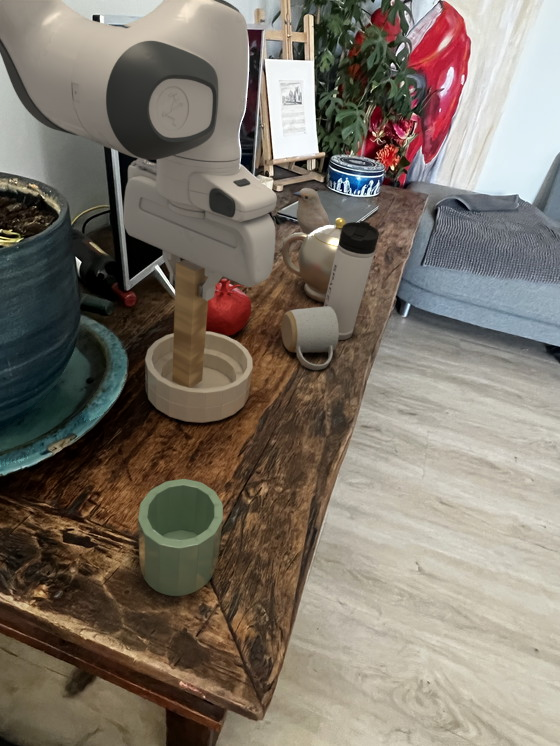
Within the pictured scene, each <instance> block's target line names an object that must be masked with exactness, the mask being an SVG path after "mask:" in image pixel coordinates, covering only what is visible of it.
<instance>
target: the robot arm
mask: <svg viewBox="0 0 560 746" xmlns="http://www.w3.org/2000/svg"><path fill="white" fill-rule="evenodd" d="M123 26H124V27H123ZM123 26H116V25H111V24H107V23H103V22H99V21H95V20H92V19H89V18H88V17H85V16H84V15H82V14H80V13H78V11H76V10H74V9H72V7H70V6H69V5H67V4H66V3H65V2H64V1H63V0H0V57H1V59H2V62H3V64H4V67H5V69H6V72H7V75H8V78H9V80H10V83H11V85H12V88H13V90H14V92H15V94H16V96H17V98H18V99H19V101H20V103H21V104H22V105H23V107H24V108H25V110H26V111H27V112H28V113H29V115H31V116H32V117H33V118H34V119H36V121H38V122H39V123H41V124H42V125H44V126H46V127H47V128H50V129H52V130H54V131H58V132H62V133H65V134H68V135H69V134H70V135H73V136H77V137H80V138H83V139H85V140H88V141H91V142H93V143H94V144H98V145H100V146H102V147H105V148H108V149H112V150H114V151H117V152H118V153H121V154H124V155H127V156H129V157H132V158H136V160H133V161H132V162H131V163H130V164H129V165H128V167H127V183H126V185H125V190H124V200H123V218H122V219H123V220H122V221H123V227H124V229H125V231H126V233H127V234H128V236H130V237H132V238H135V239H137V240H140V241H142V242H143V243H146V244H148V245H151V246H152V247H156V248H158V249H160V250H162V259H163V262H164V263H165V266H166V268H167V271H168V272H169V284H170V285H172V286H173V287H175V276H176V263H178V262H180V261H181V259H182V260H187V261H189V262H191V263H194V264H196V265H198V266H201V267H203V268H205V276H207V277H208V279H207V280H206V281H205V282H203V283H200V284H198V285H197V296H198V297H199V298H202V299H204V300H206V301H208V300H210V299H212V298H213V297H214V294H215V285H216V284H217V283H220V282H221V279H223V278H225V279H227V280H229V281H233V282H235V283H237V284H238V285H241V286H243V287H245V288H253V287H255V286H257V285H259V284H261V283H263V282H265V281H266V280H267V279H268V278H269V277H270V276H271V274H272V272H273V267H274V260H275V249H276V227H275V223H274V221H273V219H272V217H271V215H270V214H269V213H271V212H273V211H274V210H275V209H276V207H277V201H278V198H277V194H276V192H275V191H274V190H272V189H271V187H269V186H268V185H266V184H265V183H263V182H262V181H261V180H260V179H259V178H257V177H256V176H255V175H254V174H253V173H251V171H249V169H247V168H246V167H245V166H244V165H243V164H241V159H242V147H241V141H240V130H241V125H242V121H243V119H244V117H245V113H246V110H247V109H246V108H247V101H248V100H247V98H248V88H249V72H250V46H249V43H250V41H249V33H248V26H247V21H246V17H245V16H244V15H243V14H242V12H241V11H240V10H239V9H238V8H237V7H236V6H235V5H233V4H231V3H230V2H228V1H226V0H162V1H161V3H160V4H158V5H157V6H156V8H154V9H153V10H151V11H150V12H149V13H147V14H145V15H144V16H143V17H140V18H138V19H137V20H133V21H131V22H128V23H127V22H126V23H124V24H123ZM155 160H156V162H152V161H155Z"/></svg>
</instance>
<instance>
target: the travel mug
mask: <svg viewBox="0 0 560 746" xmlns="http://www.w3.org/2000/svg"><path fill="white" fill-rule="evenodd" d="M379 237H380V232H379V231H378V229H377V228H376V227H374V226H372V225H371V223H370V222H368V221H364V220H359V222H358V221H351V222H346V224H345V225H343V227H342V230H341V234H340V239H339V242H338V247H337V250H336V255H335V259H334V264H333V268H332V272H331V277H330V281H329V285H328V290H327V294H326V299H325V303H323V307H325V306H329V307H331V308H332V309H333V310H334V312H335V314H336V316H337V320H338V326H339V337H338V341H345V340H348V339H350V338H351V337H352V335H353V332H354V328H355V325H356V322H357V318H358V314H359V310H360V307H361V303H362V299H363V296H364V293H365V289H366V285H367V281H368V278H369V274H370V271H371V267H372V264H373V260H374V256H375V253H376V246H377V244H378V240H379Z"/></svg>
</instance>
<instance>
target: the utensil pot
mask: <svg viewBox="0 0 560 746" xmlns="http://www.w3.org/2000/svg"><path fill="white" fill-rule="evenodd" d="M223 521H224V505H223V502H222V501H221V499H220V497H219V495H218V494H217V492H216V491H215V490H214V489H212V488H211V487H209V486H207V485H206V484H204V483H203V482H201V481H198V480H192V479H186V478H181V479H180V478H179V479H172V480H167V481H164V482H162V483H161V484H159V485H157V486H155V487H153V488H151V489H150V490H149V491H148V493H147V494H146V495H145V496H144V498H143V499H142V500H141V502H140V504H139V509H138V517H137V526H138V527H137V529H138V556H139V557H138V558H139V566H140V571H141V572H140V573H141V575H142V577H143V579H144V581H145V582H146V584H147V585H148V586H149V587H150V588H152V590H154V591H156V592H158V593H159V594H162V595H165V596H170V597H181V596H182V597H183V596H187V595H191V594H193V593H196V592H198V591H199V590H200V589H202V588H203V587H204V586H206V585H207V584H208V583H209V581H210V580H211V579H212V577H213V576H214V574H215V572H216V568H217V565H218V561H219V553H220V546H221V537H222V531H223V530H222V529H223V523H224V522H223Z"/></svg>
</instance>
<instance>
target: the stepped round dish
mask: <svg viewBox="0 0 560 746" xmlns="http://www.w3.org/2000/svg"><path fill="white" fill-rule="evenodd" d="M173 342H174V332H173V333H170V334H166V335H164V336H162V337H161V338H159V339H157V340H155V341H154V342H153V343H152V344H151V345H150V346H149V347H148V349H147V351H146V355H145V358H144V369H145V370H144V372H145V373H144V374H145V379H144V381H145V393H146V395H147V399H148V401H149V402H150V403H151V405H152V406H154V407H155V409H157V410H158V411H160V412H161V413H163V414H164V415H166V416H168V417H170V418H173V419H177V420H179V421H183V422H187V423H210V422H216V421H221V420H223V419H226V418H228V417H231V416H234V415H235V414H236V413H237V412H239V411H240V410H241V409H242V408H244V406H245V405H246V403H247V401H248V399H249V396H250V389H251V382H252V376H253V368H254V364H253V357H252V355H251V353H250V352H249V350H248V349H247V348H246V347H245V346H244V345H243V344H241V343H240V342H239V341H237V340H235V339H233V338H231V337H229V336H226V335H221V334H218V333H214V332H208V331H206V335H205V349H204V362H203V376H202V381H201V382H199V383H198V384H196V385H195V386H193V387H192V388H188V387H184V386H181V385H179V384H177V383H175V382H173V381H172V375H173Z"/></svg>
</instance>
